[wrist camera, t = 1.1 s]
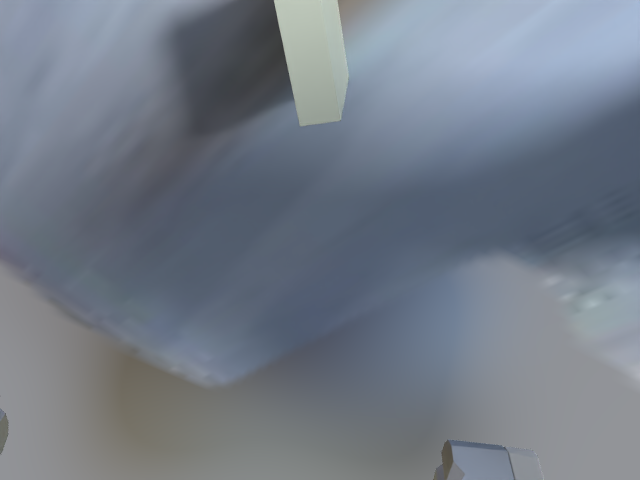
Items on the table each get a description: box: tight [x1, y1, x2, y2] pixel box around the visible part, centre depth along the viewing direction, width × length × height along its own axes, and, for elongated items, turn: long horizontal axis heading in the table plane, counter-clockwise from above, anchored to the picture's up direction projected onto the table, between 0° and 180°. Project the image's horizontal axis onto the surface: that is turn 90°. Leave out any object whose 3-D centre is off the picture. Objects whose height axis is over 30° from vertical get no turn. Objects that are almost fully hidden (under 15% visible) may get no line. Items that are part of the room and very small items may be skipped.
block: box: [274, 0, 349, 126], centre depth 28 cm, size 2×6×7 cm, turn 10°
